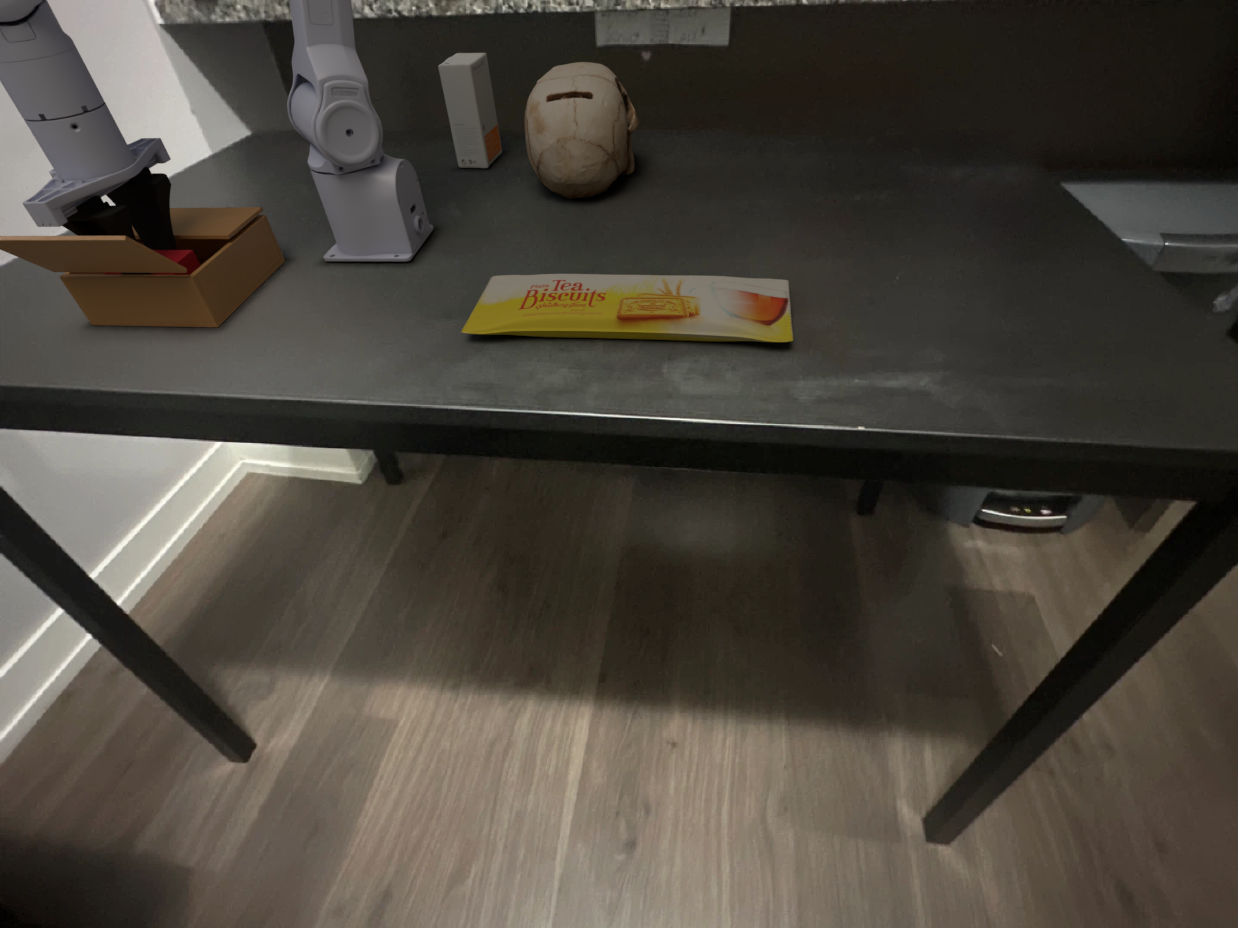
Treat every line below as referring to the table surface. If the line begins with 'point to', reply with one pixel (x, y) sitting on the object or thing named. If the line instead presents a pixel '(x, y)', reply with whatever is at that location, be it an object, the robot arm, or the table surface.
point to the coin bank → (579, 129)
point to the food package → (635, 307)
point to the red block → (176, 261)
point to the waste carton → (229, 273)
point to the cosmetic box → (471, 109)
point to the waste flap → (89, 254)
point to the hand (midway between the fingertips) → (154, 269)
